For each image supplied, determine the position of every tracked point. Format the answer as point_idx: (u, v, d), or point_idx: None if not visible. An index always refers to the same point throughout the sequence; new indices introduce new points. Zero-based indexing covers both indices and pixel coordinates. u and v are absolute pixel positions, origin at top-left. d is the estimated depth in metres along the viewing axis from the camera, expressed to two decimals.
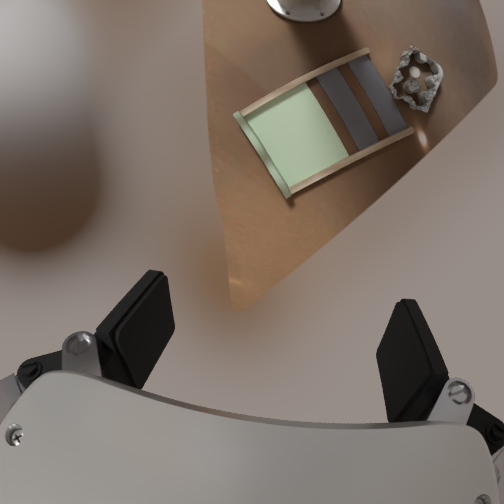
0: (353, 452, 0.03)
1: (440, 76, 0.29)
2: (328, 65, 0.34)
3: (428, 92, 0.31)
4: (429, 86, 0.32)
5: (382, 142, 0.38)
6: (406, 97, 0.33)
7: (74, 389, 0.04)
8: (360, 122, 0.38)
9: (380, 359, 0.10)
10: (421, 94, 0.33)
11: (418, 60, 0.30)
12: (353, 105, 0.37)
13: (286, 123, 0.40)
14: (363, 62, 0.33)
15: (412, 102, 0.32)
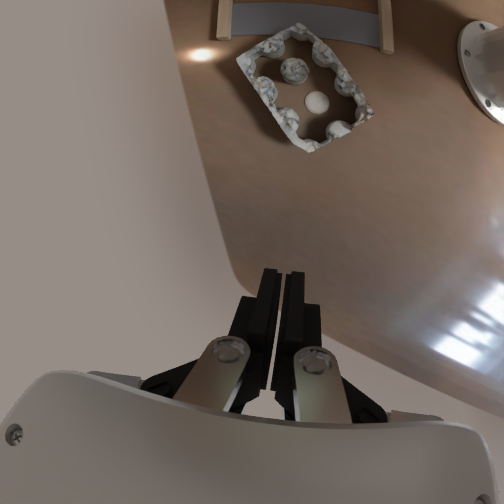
0: (353, 452, 0.03)
1: (290, 133, 0.21)
2: None
3: (271, 87, 0.19)
4: None
5: None
6: (279, 41, 0.18)
7: (74, 388, 0.04)
8: None
9: None
10: None
11: None
12: None
13: None
14: (369, 35, 0.17)
15: (266, 46, 0.18)
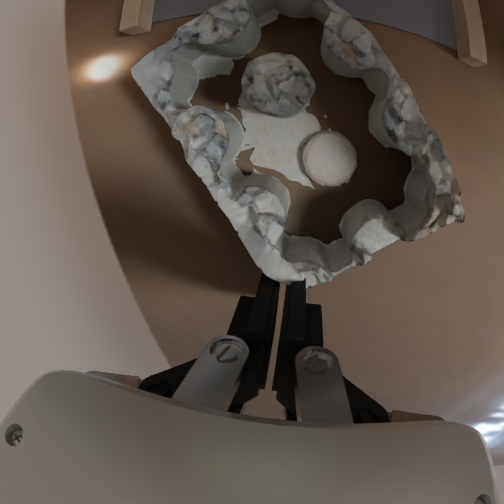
0: (353, 452, 0.03)
1: (262, 254, 0.09)
2: None
3: (215, 136, 0.08)
4: (247, 180, 0.11)
5: None
6: (239, 14, 0.06)
7: (74, 389, 0.04)
8: None
9: None
10: (229, 119, 0.10)
11: (368, 208, 0.10)
12: None
13: None
14: (436, 22, 0.06)
15: (205, 27, 0.07)
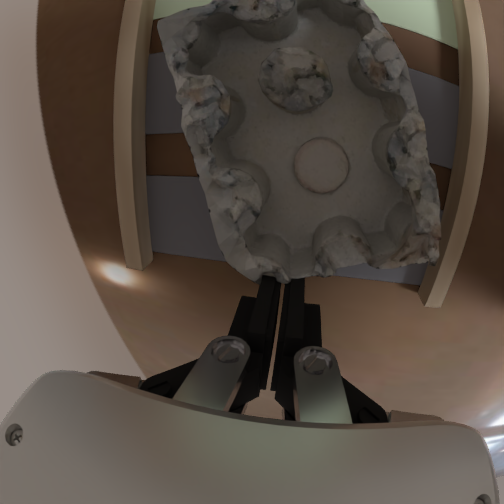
0: (353, 452, 0.03)
1: (227, 239, 0.09)
2: (481, 149, 0.08)
3: (217, 110, 0.08)
4: (234, 162, 0.10)
5: (127, 139, 0.10)
6: (284, 1, 0.06)
7: (74, 389, 0.04)
8: None
9: None
10: (236, 98, 0.09)
11: (344, 224, 0.10)
12: None
13: None
14: None
15: (245, 3, 0.06)
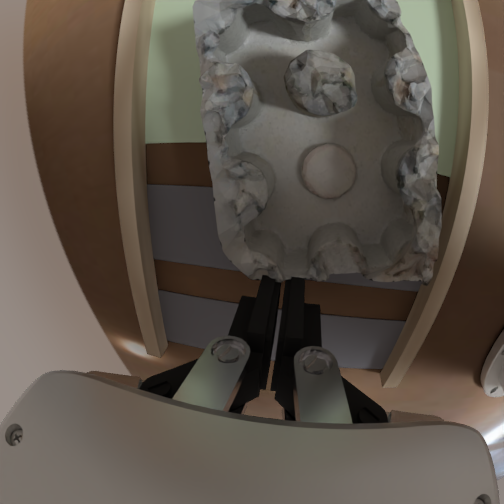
0: (353, 452, 0.03)
1: (228, 230, 0.09)
2: (446, 283, 0.10)
3: (239, 100, 0.07)
4: (244, 154, 0.10)
5: (139, 270, 0.13)
6: (324, 5, 0.06)
7: (75, 389, 0.04)
8: None
9: None
10: (257, 91, 0.09)
11: (343, 232, 0.10)
12: None
13: None
14: (374, 353, 0.15)
15: None
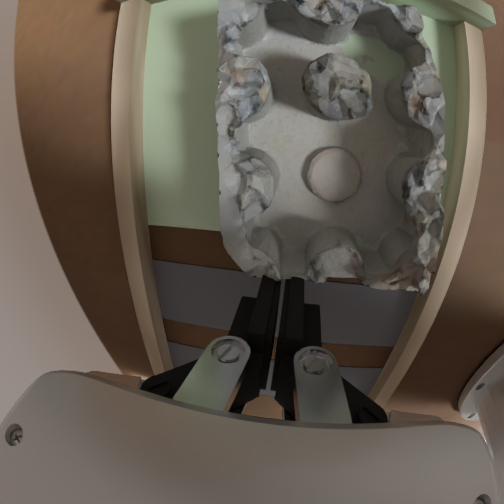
0: (353, 452, 0.03)
1: (230, 225, 0.09)
2: (418, 344, 0.12)
3: (255, 95, 0.07)
4: (252, 150, 0.10)
5: (151, 330, 0.15)
6: (349, 11, 0.06)
7: (74, 389, 0.04)
8: (226, 309, 0.15)
9: None
10: (272, 88, 0.09)
11: (343, 236, 0.11)
12: None
13: None
14: None
15: (312, 0, 0.05)
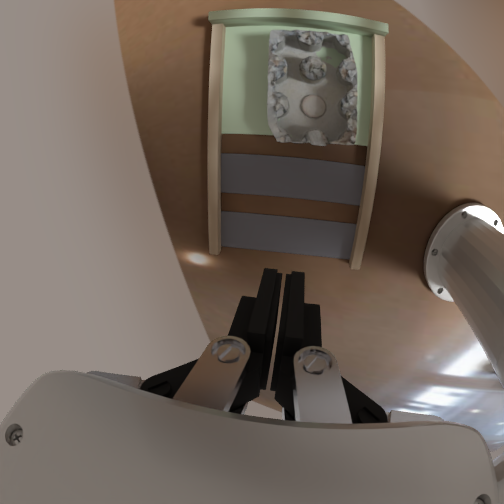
0: (353, 452, 0.03)
1: (271, 116, 0.21)
2: (371, 197, 0.24)
3: (282, 70, 0.19)
4: None
5: (215, 196, 0.26)
6: (318, 39, 0.17)
7: (74, 389, 0.04)
8: (261, 179, 0.26)
9: None
10: (287, 69, 0.20)
11: None
12: (292, 188, 0.26)
13: None
14: (342, 247, 0.28)
15: (304, 35, 0.17)
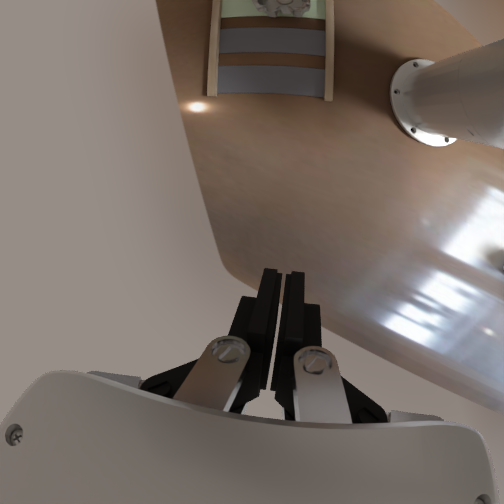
0: (353, 452, 0.03)
1: None
2: (331, 46, 0.26)
3: None
4: None
5: (214, 52, 0.28)
6: None
7: (74, 389, 0.04)
8: (249, 42, 0.28)
9: None
10: None
11: None
12: (272, 46, 0.28)
13: None
14: (316, 88, 0.30)
15: None
